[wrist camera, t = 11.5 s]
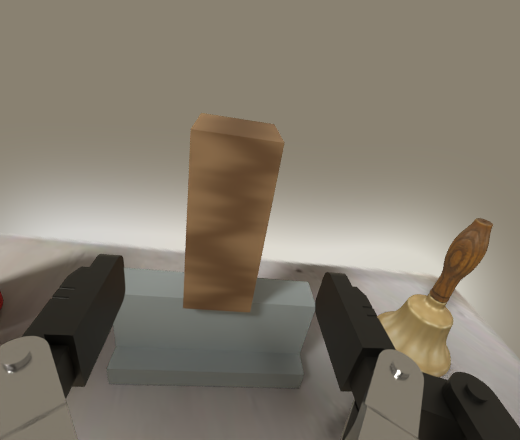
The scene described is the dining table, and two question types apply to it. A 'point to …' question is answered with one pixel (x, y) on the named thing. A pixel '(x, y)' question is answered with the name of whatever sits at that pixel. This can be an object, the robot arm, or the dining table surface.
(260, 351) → the ridge
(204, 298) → the walnut post
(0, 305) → the beverage can
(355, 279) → the dining table surface
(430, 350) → the hand bell
